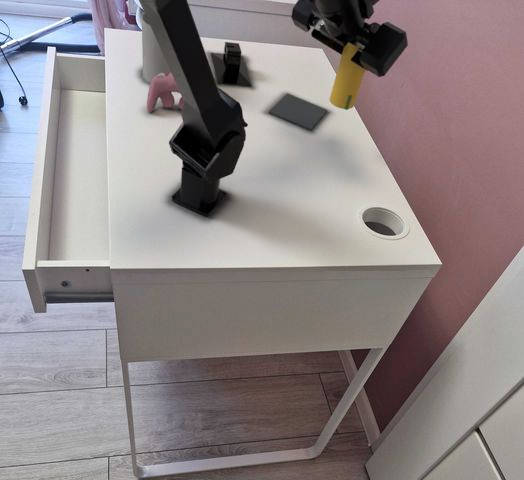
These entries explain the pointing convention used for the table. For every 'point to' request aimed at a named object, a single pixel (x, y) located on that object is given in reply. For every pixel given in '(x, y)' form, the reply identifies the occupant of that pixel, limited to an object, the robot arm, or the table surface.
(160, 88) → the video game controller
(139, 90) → the table surface
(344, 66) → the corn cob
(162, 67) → the cup
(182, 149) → the robot arm
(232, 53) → the dark flat-based piece
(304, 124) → the coaster
